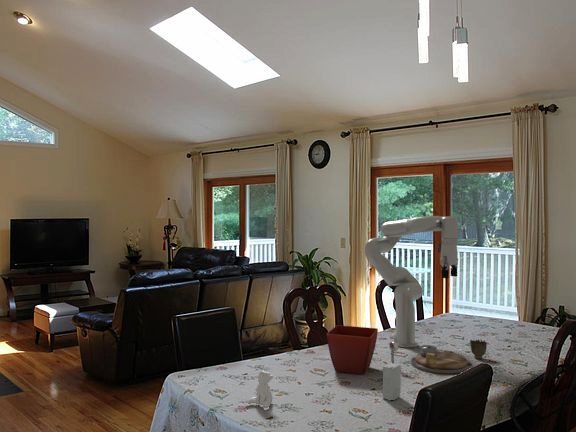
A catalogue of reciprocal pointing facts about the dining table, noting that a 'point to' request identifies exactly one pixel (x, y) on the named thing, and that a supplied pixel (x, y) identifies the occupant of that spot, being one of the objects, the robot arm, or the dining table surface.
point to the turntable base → (439, 371)
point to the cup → (478, 348)
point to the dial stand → (393, 347)
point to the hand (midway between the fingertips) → (449, 277)
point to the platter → (442, 360)
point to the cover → (428, 350)
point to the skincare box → (391, 381)
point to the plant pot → (351, 348)
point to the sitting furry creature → (262, 390)
